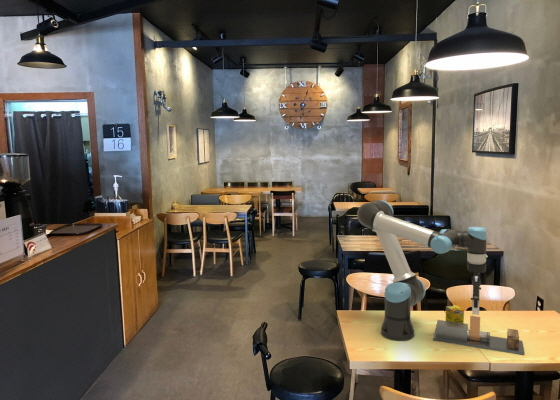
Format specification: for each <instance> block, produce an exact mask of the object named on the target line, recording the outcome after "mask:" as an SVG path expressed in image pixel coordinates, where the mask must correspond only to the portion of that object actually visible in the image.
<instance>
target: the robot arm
mask: <svg viewBox="0 0 560 400" xmlns="http://www.w3.org/2000/svg"><path fill="white" fill-rule="evenodd" d="M356 215H357V220H358V222H359V223H360V224H361V225H362V226H364V227H366V228H369V229H371V230H372V232H374V233H376V235H377V237H378V241H379V242H380V245H381V248H382V251H383V253H384V256H385V258H386V260H387V262H388V266H389V267H390V270H391V272H392V273H391V274H392V275H393V280H392V282H391V283H389V284H387V285H386V286H385V288H384V293H383V294H384V319H383V321H382V324H381V327H380V334H381V335H382V336H383V337H384V338H386V339H389V340H392V341H398V342H400V341H401V342H402V341H405V342H406V341H410V340H412V339H413V338H414V337H415V329H414V325H413V323H412V320H411V308H412V307H414V306H415V305H416V304H418V303H420V302H421V301H422V300H423V299H424V297H425V295H426V286H425V284H424V282H423V281H422V280H421V279H419V278H418V277H417V275H416V273H414V272H413V271H412V270H411V267H410V266H409V263H408V261H407V258H406V256H405V254H404V251H403V248H402V246H401V244H400V242H399V239H398V237H400V238H402V239H405V240H408V241H411V242H414V243H416V244H419V245H422V246H424V247H427V248H429V249H431V250H432V251H433V252H434V253H436V254H440V255H441V254H445V253H448V252H450V251H451V250H452V249H453V250H454V249H455V248H463V249H467V252H466V255H467V256H466V257H467V258H466V261H467V264H466V267H467V271H468V272H470V273H471V277H470V279H471V285H472V297H470V300H471V301H472V303H471V304H472V307H471V314H472V315H474V316H480V300H481V299H480V295H481V294H480V293H481V291H480V290H482V287H481V285H482V283H481V282H482V274H483V273H485V272H487V263H486V262H487V258H488V257H489V256H488V255H487V240H488V238H487V236H488V235H487V229H486V228H485V227H483V226H482V227H481V226H469V227H468V228H467V230H458V229H451V228H448V229H443V228H442V229H441V230H440V231H435V230H432V229H429V228H426V227H424V226H420V225H417V224H415V223H412V222H409V221H406V220H403V219H400V218H397V217H394V208H393V207H392V205H391V204H390V203H389V202H388V201H386V200H381V199H380V200H378V199H377V200H374V201H369V202H365V203H363V204H361V205H360V206H359V207H358V210H357V211H356Z"/></svg>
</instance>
